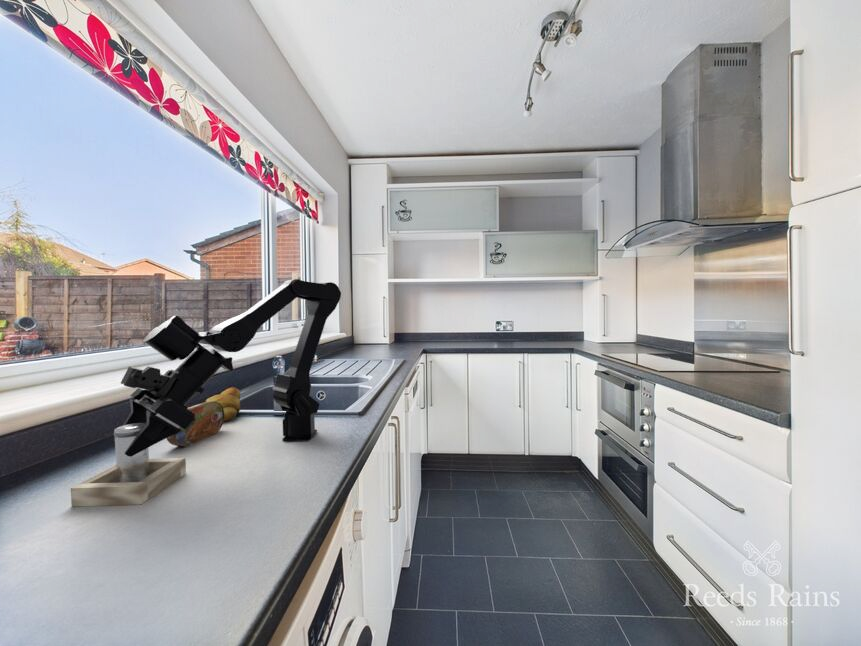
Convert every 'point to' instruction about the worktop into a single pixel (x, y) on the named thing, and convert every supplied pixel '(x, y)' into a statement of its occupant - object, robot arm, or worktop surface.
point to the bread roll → (228, 402)
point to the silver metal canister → (136, 464)
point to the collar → (127, 485)
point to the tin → (200, 424)
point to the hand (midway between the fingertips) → (121, 448)
